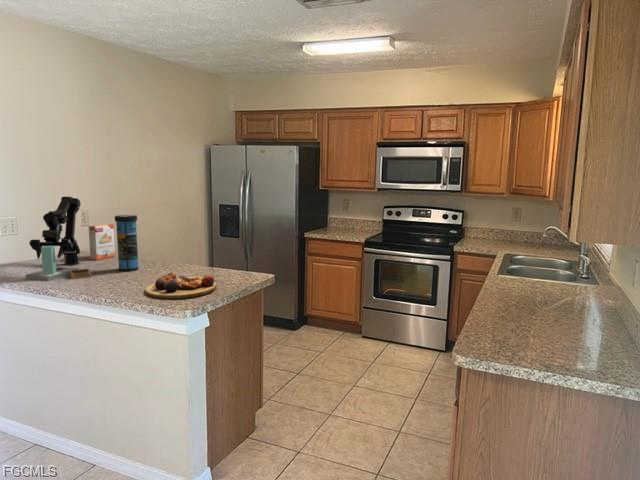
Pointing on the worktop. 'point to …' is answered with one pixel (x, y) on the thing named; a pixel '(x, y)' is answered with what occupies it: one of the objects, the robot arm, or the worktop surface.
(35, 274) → the board
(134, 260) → the advertising column
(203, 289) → the wooden plate with food
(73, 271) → the cubby
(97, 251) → the cracker box
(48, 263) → the post
